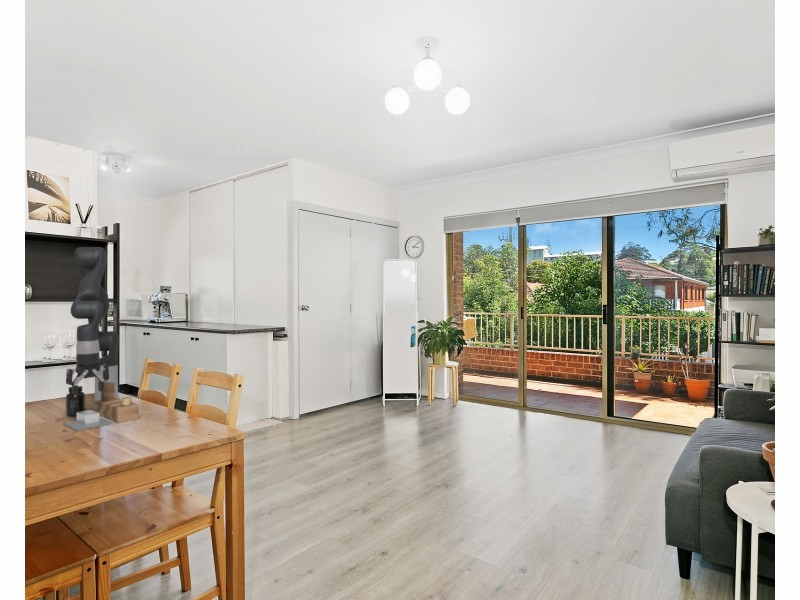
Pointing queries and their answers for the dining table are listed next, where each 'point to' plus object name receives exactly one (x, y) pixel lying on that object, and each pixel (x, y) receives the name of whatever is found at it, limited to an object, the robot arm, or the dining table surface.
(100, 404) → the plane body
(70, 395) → the supplement bottle
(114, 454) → the dining table surface
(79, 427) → the mat
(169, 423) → the dining table surface
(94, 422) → the white rectangular block
